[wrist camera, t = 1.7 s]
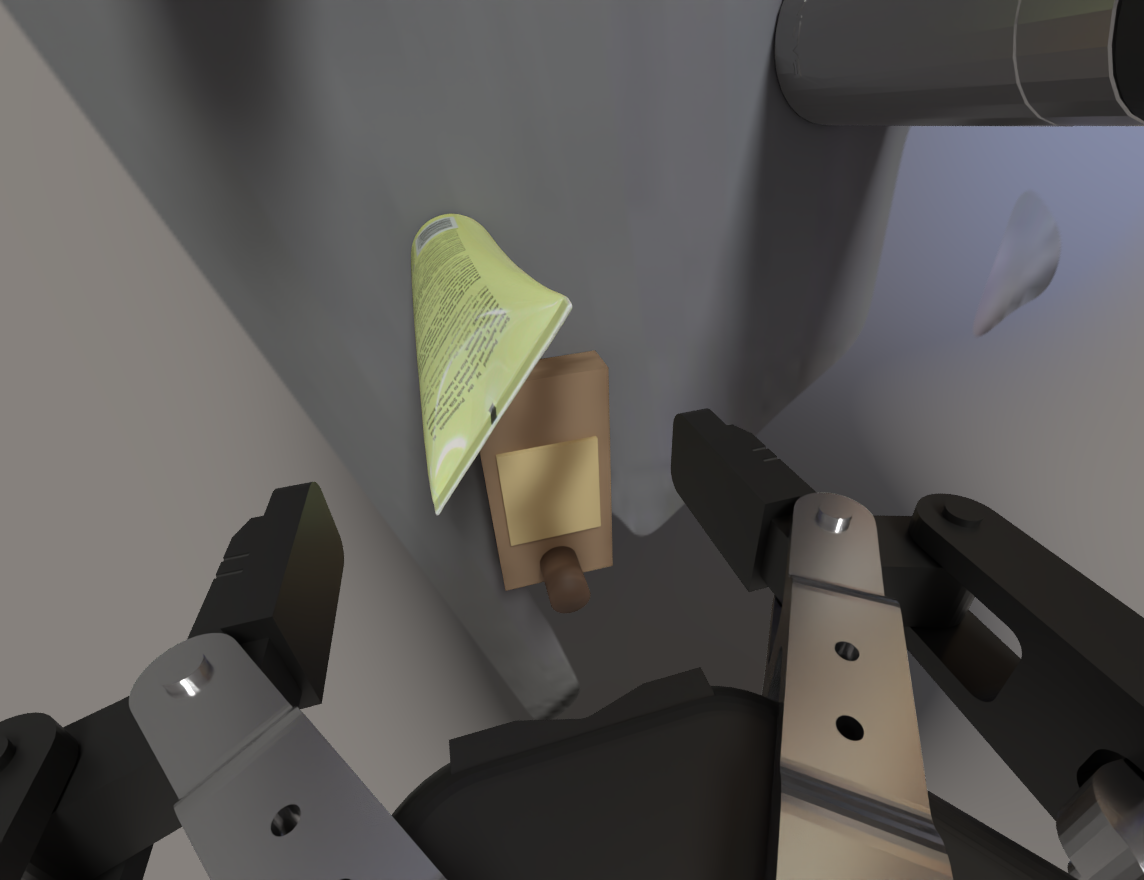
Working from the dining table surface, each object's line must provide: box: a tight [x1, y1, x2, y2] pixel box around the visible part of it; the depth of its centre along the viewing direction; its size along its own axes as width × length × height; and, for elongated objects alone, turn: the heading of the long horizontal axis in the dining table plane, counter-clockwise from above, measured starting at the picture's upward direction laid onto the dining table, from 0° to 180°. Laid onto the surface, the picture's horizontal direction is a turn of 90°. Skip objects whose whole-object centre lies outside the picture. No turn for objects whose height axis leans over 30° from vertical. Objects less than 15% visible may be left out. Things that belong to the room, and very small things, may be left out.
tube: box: [411, 214, 572, 515], centre depth 22 cm, size 6×5×20 cm
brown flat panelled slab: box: [480, 351, 612, 613], centre depth 37 cm, size 9×18×7 cm, turn 4°
